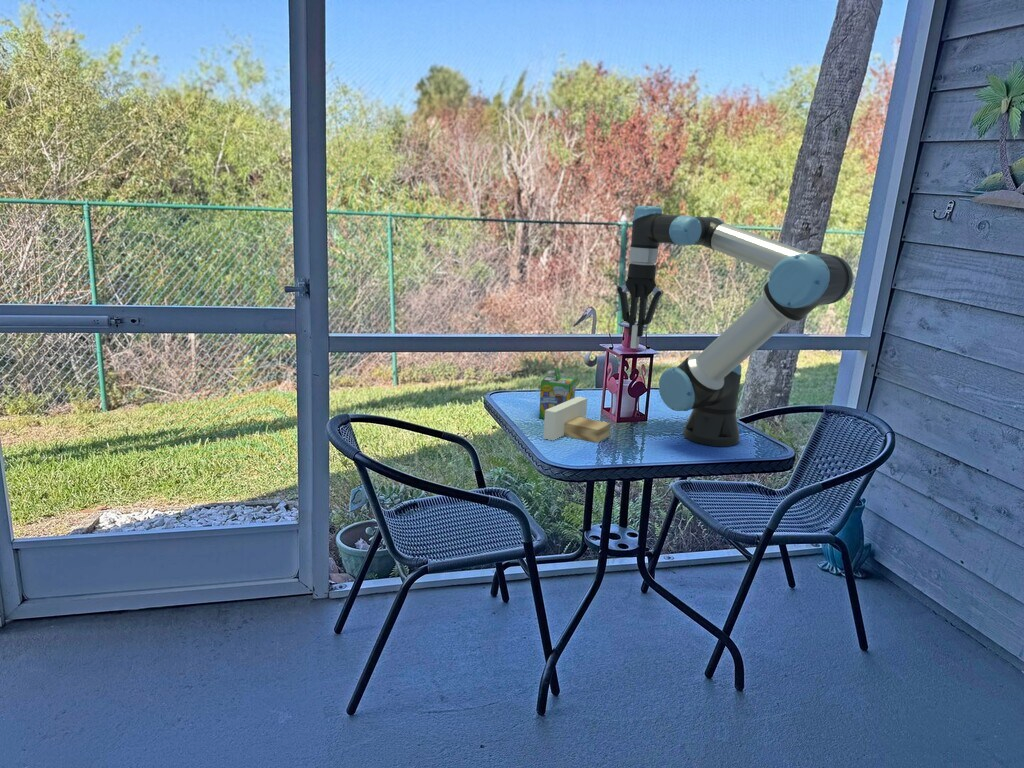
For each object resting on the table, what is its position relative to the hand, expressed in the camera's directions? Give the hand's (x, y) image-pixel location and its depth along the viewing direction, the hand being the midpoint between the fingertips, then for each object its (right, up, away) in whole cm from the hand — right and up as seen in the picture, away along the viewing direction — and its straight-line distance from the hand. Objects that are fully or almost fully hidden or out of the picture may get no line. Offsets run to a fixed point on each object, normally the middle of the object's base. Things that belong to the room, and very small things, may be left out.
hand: (634, 347), depth 208 cm
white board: (-20, -24, -2) cm, 31 cm away
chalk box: (-21, -20, +13) cm, 32 cm away
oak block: (-14, -25, -4) cm, 29 cm away
